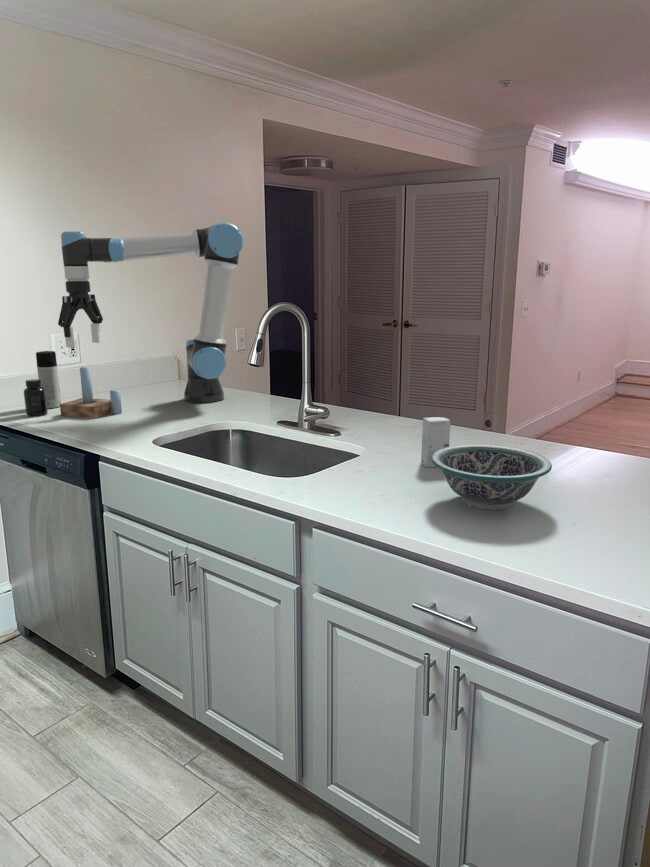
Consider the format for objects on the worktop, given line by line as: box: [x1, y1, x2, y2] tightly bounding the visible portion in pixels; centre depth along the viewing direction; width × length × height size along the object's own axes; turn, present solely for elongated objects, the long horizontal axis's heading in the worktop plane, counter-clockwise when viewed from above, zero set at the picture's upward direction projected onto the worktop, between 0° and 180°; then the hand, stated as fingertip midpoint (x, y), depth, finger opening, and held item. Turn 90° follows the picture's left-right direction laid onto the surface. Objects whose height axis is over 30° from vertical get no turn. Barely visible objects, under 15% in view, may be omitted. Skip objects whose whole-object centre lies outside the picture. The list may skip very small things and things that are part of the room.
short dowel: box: [109, 389, 123, 415], centre depth 225 cm, size 3×3×8 cm
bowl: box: [431, 443, 553, 511], centre depth 141 cm, size 25×25×10 cm
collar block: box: [59, 397, 112, 419], centre depth 226 cm, size 14×12×4 cm
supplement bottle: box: [23, 378, 49, 417], centre depth 223 cm, size 7×7×12 cm
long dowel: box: [79, 366, 94, 404], centre depth 224 cm, size 3×3×16 cm
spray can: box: [35, 350, 62, 409], centre depth 234 cm, size 7×7×20 cm
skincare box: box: [420, 416, 451, 468], centre depth 167 cm, size 6×4×12 cm
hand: (83, 344), depth 220 cm, fingers open, 13 cm apart
